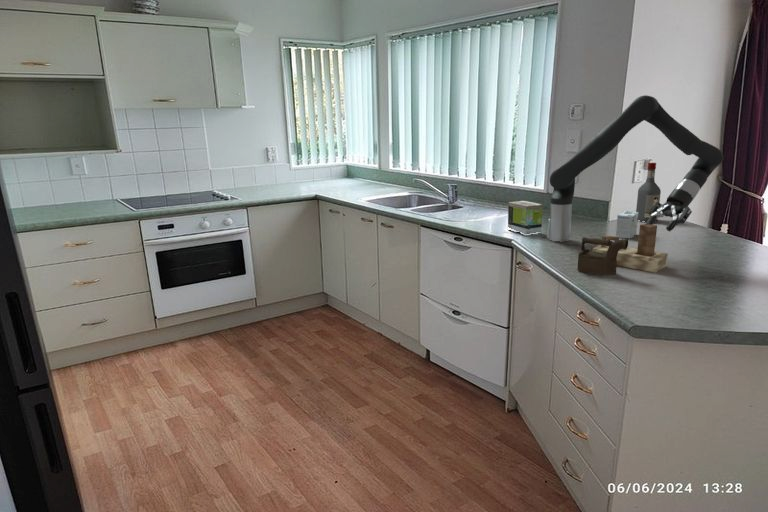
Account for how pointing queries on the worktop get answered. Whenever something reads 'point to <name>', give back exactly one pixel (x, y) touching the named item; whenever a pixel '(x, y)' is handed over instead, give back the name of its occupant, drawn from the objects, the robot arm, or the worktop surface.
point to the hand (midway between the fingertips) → (657, 227)
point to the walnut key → (647, 240)
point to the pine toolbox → (635, 257)
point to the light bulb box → (627, 224)
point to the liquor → (648, 195)
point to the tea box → (525, 216)
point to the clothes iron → (600, 256)
